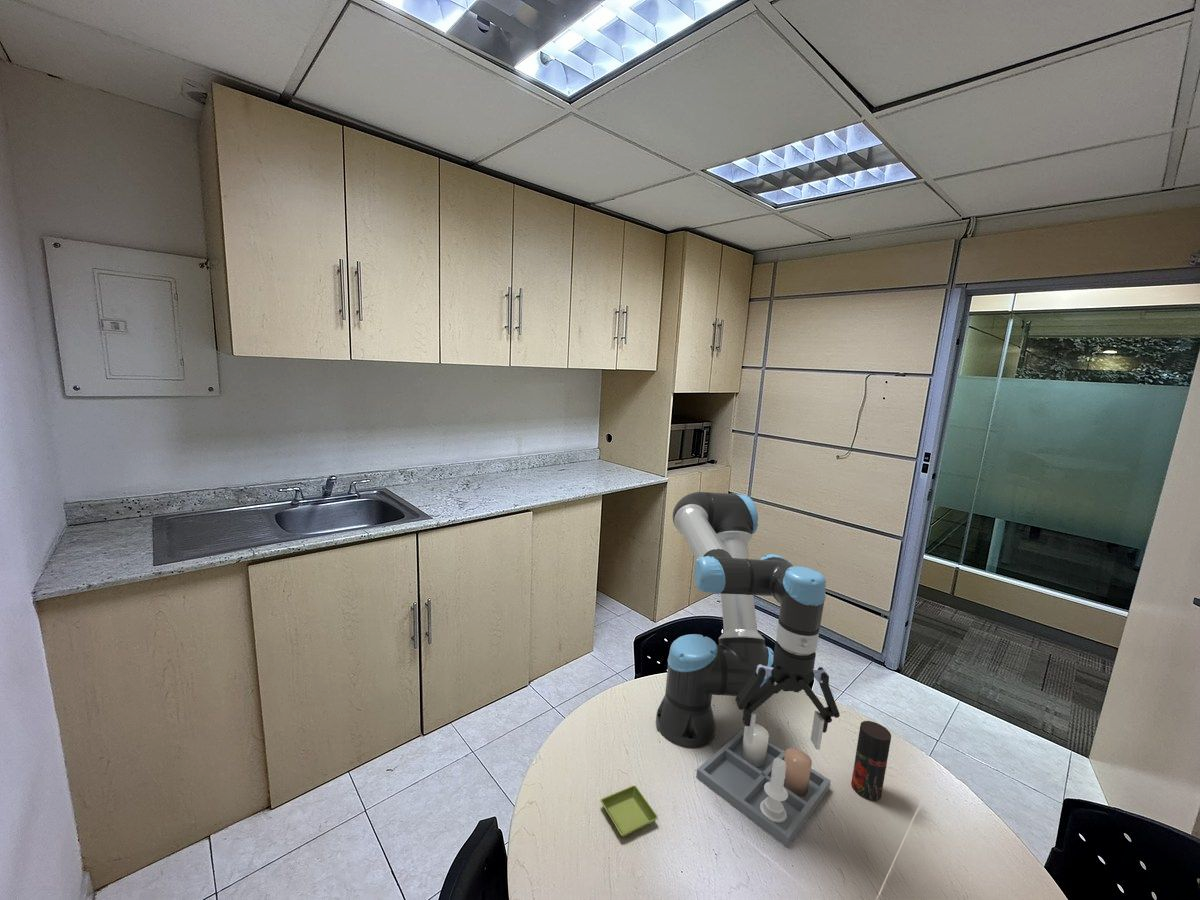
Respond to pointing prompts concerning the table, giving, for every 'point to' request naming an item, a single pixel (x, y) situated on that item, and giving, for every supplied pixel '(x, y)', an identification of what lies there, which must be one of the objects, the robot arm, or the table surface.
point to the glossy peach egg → (797, 771)
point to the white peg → (775, 793)
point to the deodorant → (871, 760)
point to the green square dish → (628, 810)
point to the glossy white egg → (756, 747)
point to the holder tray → (759, 788)
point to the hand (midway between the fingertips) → (781, 741)
